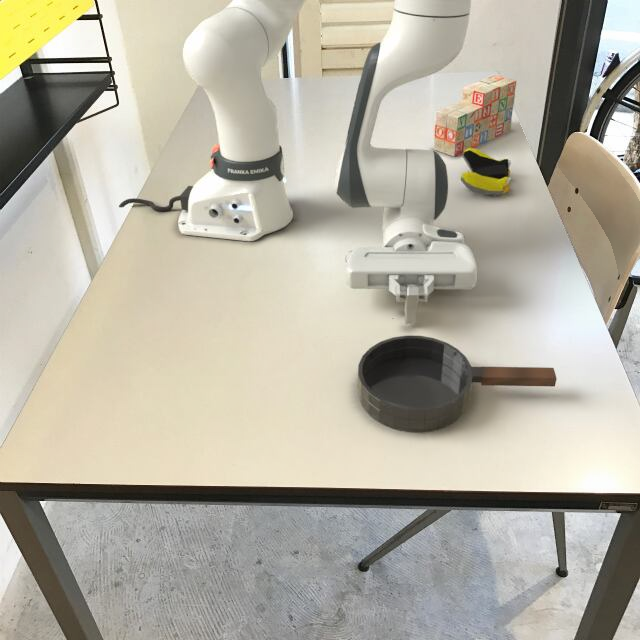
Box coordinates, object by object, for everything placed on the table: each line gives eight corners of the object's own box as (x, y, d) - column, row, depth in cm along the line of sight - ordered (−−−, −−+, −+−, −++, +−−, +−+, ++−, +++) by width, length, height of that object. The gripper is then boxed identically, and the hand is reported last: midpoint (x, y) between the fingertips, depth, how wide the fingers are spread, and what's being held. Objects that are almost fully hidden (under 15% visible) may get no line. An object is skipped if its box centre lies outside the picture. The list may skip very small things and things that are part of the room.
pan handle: (470, 385, 93) (471, 376, 92) (469, 374, 95) (470, 365, 94) (555, 386, 92) (557, 378, 91) (551, 375, 94) (553, 367, 93)
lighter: (404, 307, 110) (406, 265, 105) (415, 307, 110) (417, 265, 105) (405, 335, 105) (407, 291, 100) (417, 335, 104) (419, 291, 100)
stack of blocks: (454, 157, 157) (458, 103, 150) (433, 150, 161) (436, 97, 154) (510, 130, 168) (517, 79, 161) (489, 124, 172) (494, 74, 165)
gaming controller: (458, 200, 141) (509, 203, 139) (460, 175, 137) (513, 177, 135) (461, 169, 152) (508, 171, 150) (463, 145, 149) (512, 147, 147)
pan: (356, 431, 90) (356, 408, 88) (359, 356, 103) (359, 334, 100) (475, 433, 89) (478, 411, 87) (464, 357, 101) (466, 336, 99)
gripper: (345, 232, 114) (342, 280, 103) (473, 232, 112) (483, 280, 101) (346, 265, 117) (342, 314, 106) (469, 266, 116) (478, 315, 105)
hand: (412, 298), depth 104 cm, fingers closed on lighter, 2 cm apart
